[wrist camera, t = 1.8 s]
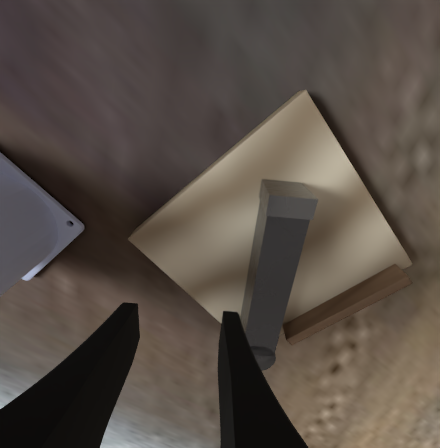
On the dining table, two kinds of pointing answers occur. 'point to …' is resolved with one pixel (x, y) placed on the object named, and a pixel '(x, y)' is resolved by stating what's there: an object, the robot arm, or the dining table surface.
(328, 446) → the dining table surface
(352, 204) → the stool seat
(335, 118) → the dining table surface
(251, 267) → the folding leg
